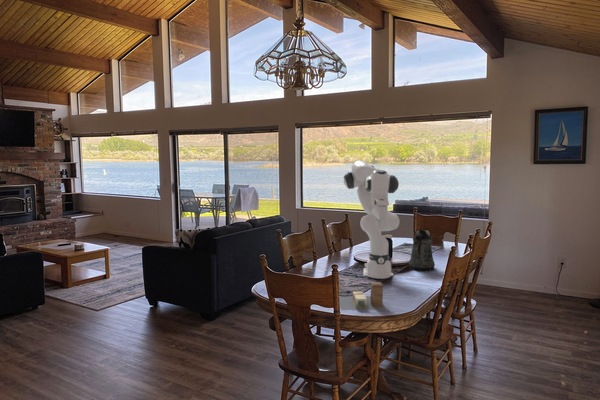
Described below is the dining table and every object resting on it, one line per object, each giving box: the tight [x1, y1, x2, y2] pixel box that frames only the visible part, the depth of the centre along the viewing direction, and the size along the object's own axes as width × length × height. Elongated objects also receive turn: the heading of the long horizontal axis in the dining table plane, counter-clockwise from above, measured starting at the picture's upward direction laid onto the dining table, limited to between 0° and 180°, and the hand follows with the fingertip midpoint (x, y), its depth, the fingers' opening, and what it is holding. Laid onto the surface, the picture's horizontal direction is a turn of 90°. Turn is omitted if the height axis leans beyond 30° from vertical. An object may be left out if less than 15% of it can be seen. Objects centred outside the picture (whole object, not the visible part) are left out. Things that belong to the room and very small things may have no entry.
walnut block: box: [370, 281, 384, 307], centre depth 218 cm, size 5×5×11 cm
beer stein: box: [408, 230, 435, 273], centre depth 286 cm, size 16×19×25 cm
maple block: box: [352, 290, 367, 309], centre depth 219 cm, size 5×5×11 cm
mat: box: [339, 295, 387, 311], centre depth 222 cm, size 19×22×1 cm
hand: (378, 226), depth 235 cm, fingers closed
